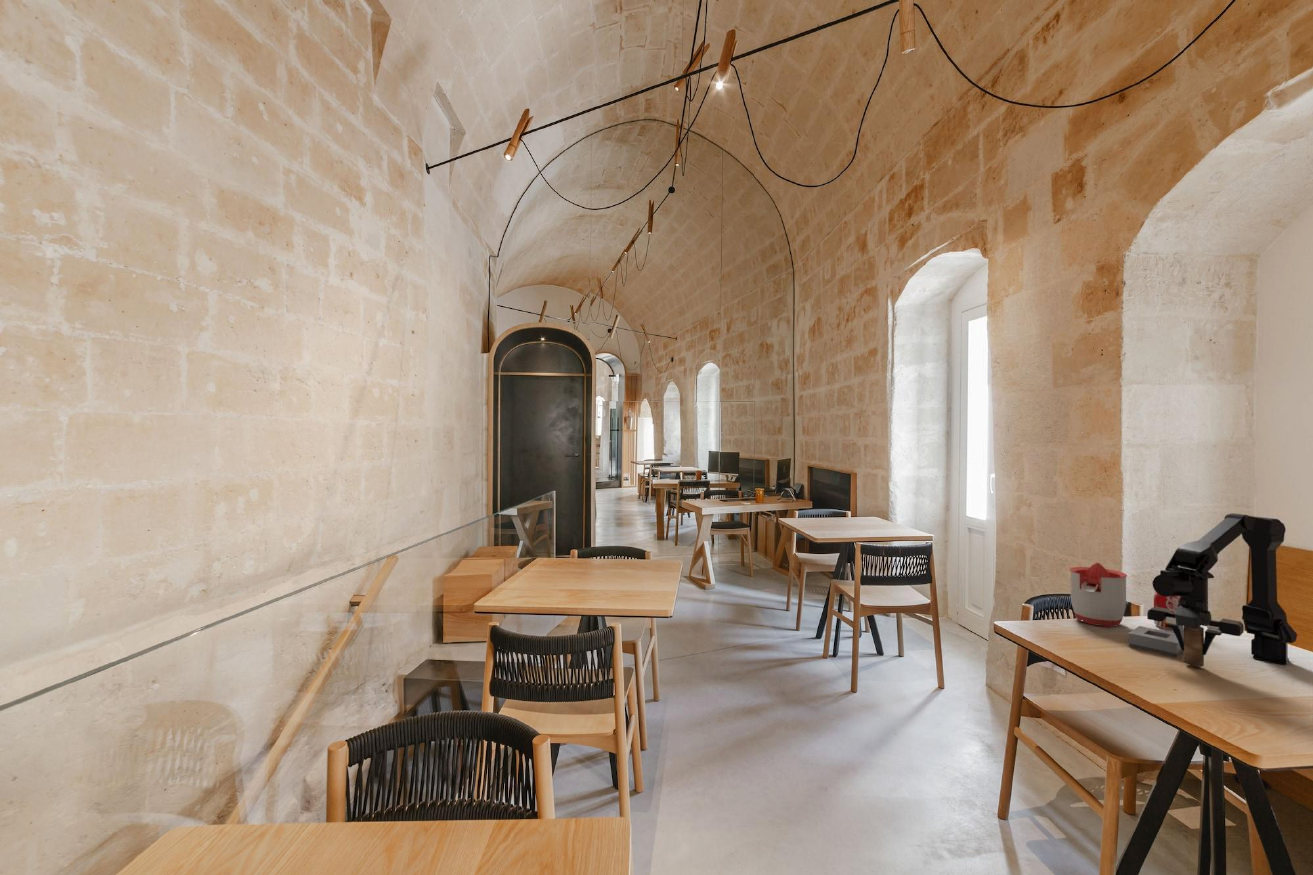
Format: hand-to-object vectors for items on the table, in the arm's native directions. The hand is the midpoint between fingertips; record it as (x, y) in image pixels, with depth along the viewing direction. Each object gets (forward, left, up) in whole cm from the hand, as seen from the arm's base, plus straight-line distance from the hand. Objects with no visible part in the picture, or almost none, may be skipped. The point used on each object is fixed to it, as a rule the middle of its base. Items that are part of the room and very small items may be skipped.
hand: (1193, 652), depth 160 cm
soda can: (+13, -38, -4) cm, 40 cm away
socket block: (+10, -11, -4) cm, 15 cm away
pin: (0, 0, -3) cm, 3 cm away
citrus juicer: (+29, -26, -4) cm, 39 cm away
